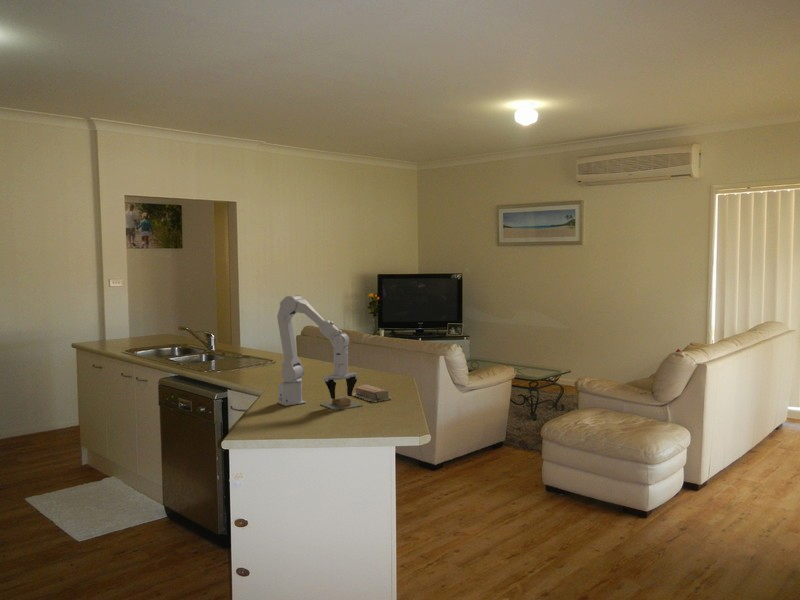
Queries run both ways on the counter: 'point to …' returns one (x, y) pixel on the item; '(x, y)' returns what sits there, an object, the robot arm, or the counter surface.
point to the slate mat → (335, 407)
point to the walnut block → (341, 401)
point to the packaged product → (371, 393)
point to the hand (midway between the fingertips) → (341, 397)
